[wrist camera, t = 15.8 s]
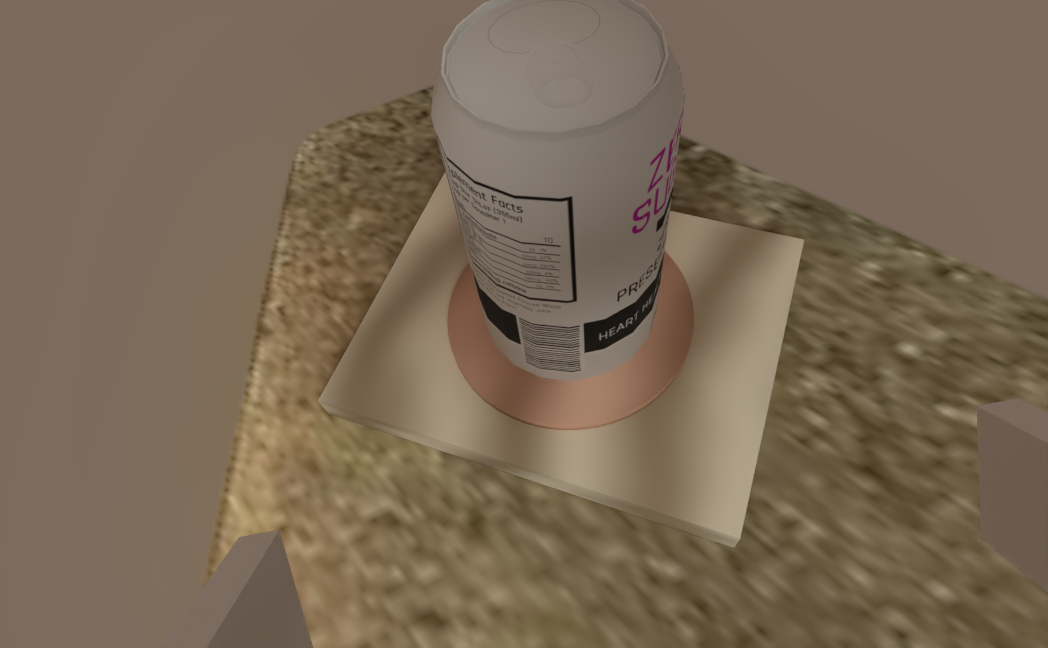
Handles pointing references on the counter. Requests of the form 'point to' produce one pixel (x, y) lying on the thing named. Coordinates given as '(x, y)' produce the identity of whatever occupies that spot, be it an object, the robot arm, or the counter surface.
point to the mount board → (593, 403)
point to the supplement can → (562, 174)
